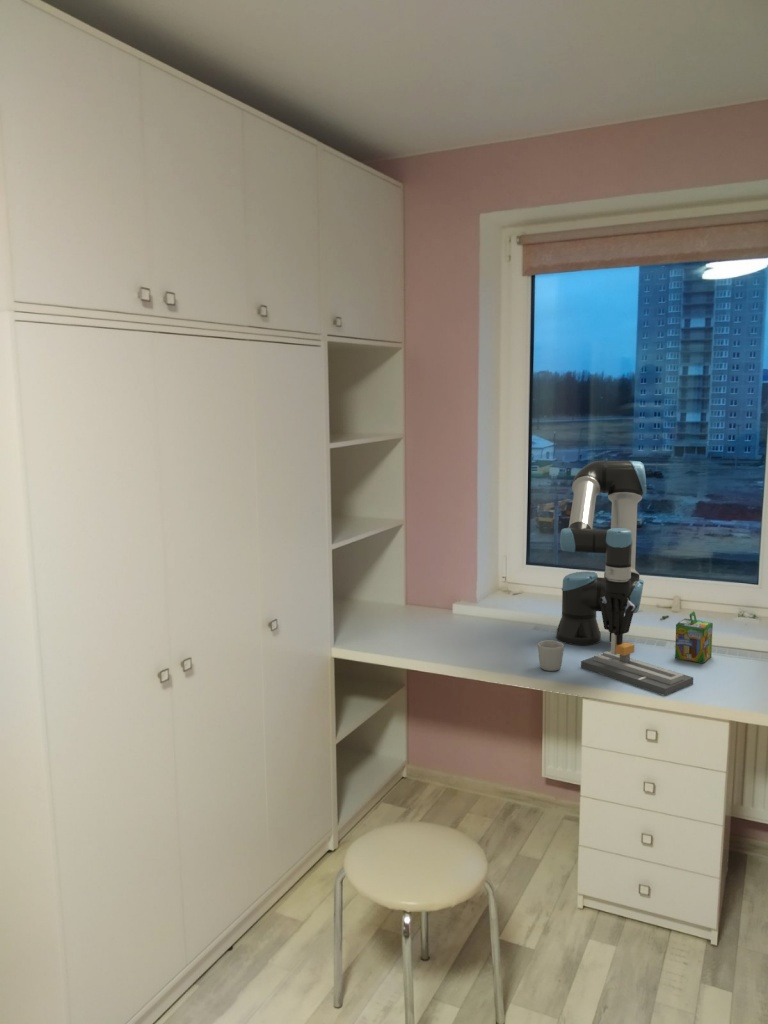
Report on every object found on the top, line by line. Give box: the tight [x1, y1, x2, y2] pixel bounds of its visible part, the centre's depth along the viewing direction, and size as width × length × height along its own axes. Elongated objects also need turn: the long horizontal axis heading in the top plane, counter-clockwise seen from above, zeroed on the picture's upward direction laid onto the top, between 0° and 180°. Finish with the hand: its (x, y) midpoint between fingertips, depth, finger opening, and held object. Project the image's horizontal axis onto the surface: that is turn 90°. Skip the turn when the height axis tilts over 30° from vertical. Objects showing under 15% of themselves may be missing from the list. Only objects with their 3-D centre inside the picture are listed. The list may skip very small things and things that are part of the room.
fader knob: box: [616, 642, 635, 664], centre depth 243 cm, size 3×5×6 cm, turn 127°
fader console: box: [580, 651, 694, 696], centre depth 241 cm, size 30×14×4 cm, turn 37°
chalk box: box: [674, 610, 714, 664], centre depth 255 cm, size 9×9×15 cm
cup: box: [537, 639, 565, 672], centre depth 249 cm, size 11×8×8 cm
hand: (615, 653), depth 246 cm, fingers closed
